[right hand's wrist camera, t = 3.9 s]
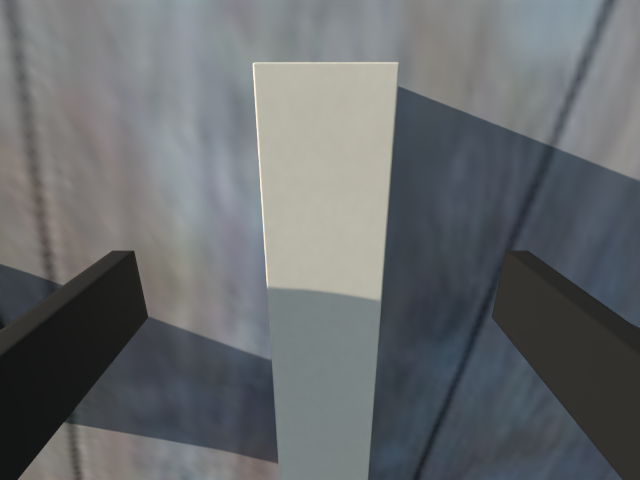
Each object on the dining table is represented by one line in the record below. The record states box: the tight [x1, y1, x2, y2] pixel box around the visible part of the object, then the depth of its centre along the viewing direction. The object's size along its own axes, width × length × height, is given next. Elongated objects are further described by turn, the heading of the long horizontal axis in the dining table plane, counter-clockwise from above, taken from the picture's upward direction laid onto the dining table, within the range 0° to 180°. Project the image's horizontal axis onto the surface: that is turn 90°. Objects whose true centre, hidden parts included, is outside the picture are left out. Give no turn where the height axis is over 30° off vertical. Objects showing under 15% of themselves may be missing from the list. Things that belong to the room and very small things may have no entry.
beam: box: [253, 62, 400, 480], centre depth 27 cm, size 54×6×8 cm, turn 0°
